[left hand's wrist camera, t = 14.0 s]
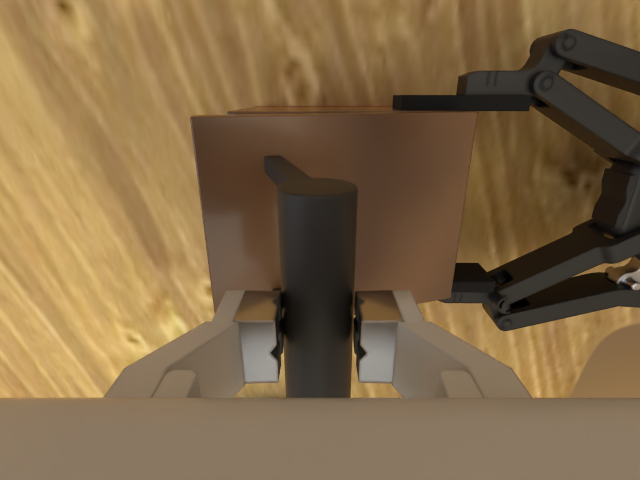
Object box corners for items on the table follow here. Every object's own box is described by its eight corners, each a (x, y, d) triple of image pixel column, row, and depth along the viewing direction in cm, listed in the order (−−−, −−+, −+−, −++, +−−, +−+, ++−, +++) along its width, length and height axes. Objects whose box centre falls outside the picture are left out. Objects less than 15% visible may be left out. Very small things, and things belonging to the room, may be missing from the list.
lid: (217, 326, 18) (229, 490, 11) (190, 115, 14) (181, 135, 7) (439, 289, 22) (568, 392, 14) (463, 111, 18) (653, 121, 10)
